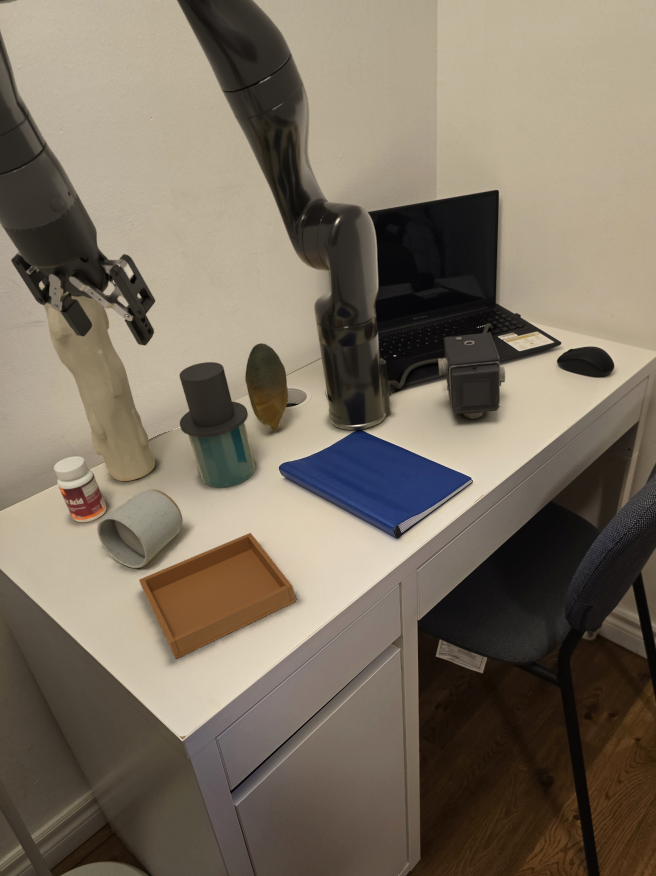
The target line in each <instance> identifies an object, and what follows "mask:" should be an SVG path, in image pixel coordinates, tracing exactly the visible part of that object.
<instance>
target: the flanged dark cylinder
mask: <svg viewBox="0 0 656 876" xmlns="http://www.w3.org/2000/svg"><path fill="white" fill-rule="evenodd" d="M179 380H180V383H181V387H182V391H183V393H184V397H185V400H186V404H187V407H188V411H187V412H186V413H185V414H183V416H181V418H180V419H179V427H180V430H181V431H182V433H184V434H185V435H188V436H189V435H190V436H195V437H210V436H216V435H221V434H224V433H227V432H230V431H232V430H234V429H236V428H238V427H239V426H241V425H242V424H243V423H244V422H245V423H246V421H247V419H248V417H249V413H248V409H247V407H246V406H245V405H243V404H242V403H240V402H236V401H232V396H231V392H230V388H229V384H228V380H227V376H226V372H225V368H224V365H223V364H221V363H218V362H215V361H214V362H213V361H207V362H199V363H196V364H191V365H189V366H187V367H185V368H184V369H183V370H181V371H180V372H179Z"/></svg>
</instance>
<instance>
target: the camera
mask: <svg viewBox="0 0 656 876" xmlns="http://www.w3.org/2000/svg"><path fill="white" fill-rule="evenodd" d="M443 342H444V343H443V344H444V357H445V358H443V357H442V358H443V359H438V363H437V365H438V366H437V367H438V375H439V376H445V380H446V386H447V387H446V388H447V391H448V398H449V403H450V409H452V412H453V414H455V415H456V414H457V415H462V414H463V416H464V417H465V418H468V419H478V418H480V417H482V416H483V415H484V413H487V412H495V411H498V410H499V408H501V406H500V401H501V396H500V395H501V387H502V383H505V382H506V369H505V366H501V364H500V360H501V359H500V356H501V355H500V354H499V351H498V349H497V346H496V343H495V341H494V339H493V335H492V333H491V332H490V331H489V332H488V331H487V333H483V332H482V333H473V334H464V335H455V336H454V335H453V336H445V337H443Z"/></svg>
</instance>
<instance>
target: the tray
mask: <svg viewBox="0 0 656 876" xmlns="http://www.w3.org/2000/svg"><path fill="white" fill-rule="evenodd" d="M138 582H139V584H140V586H141V589H142V591H143V593H144V597H145V599H146V600H147V602H148V604H149V607H150V608H151V611H152V613H153V614H154V617H155V619H156V621H157V623H158V625H159V628H160V630H161V631H162V633H163V635H164V638H165V640H166V642H167V645H168V646H169V648H170V650H171V652H172V654H173V656H174V659H175V660H177V659H179V658H181V657H183V656H185V655H188V654H190V653H191V652H194V651H196V650H198V649H200V648H203V647H205V646H206V645H209V644H211V643H213V642H214V641H215V642H216V641H217V640H219V639H222V638H223V637H225V636H228V635H230V634H233V633H234V632H236V631H238V630H240V629H242V628H245V627H247V626H248V625H250V624H253V623H255V622H257V621H259V620H261V619H264V618H265V617H268V616H269V615H271V614H273V613H275V612H277V611H280V610H283V609H284V608H286V607H288V606H290V605H292V604H294V603H296V602H297V600H296V595H295V591H294V588H293V585H292V583H291V582H290V581H289V580H288V578H287V577H286V576H285V575H284V573H283V572H282V571H281V569H280V568H279V567H278V566H277V564H276V563H275V562H274V561H273V559H272V558H271V557H270V556H269V554H268V553H267V552H266V551H265V549H264V547H262V545H261V544H260V542H259V541H258V540H257V539H256V537H254V535H253V534H252V532H248V533H247V534H244V535H242V536H239V537H237V538H234V539H233V540H230V541H227V542H225V543H222V544H220V545H218V546H216V547H213V548H211V549H208V550H206V551H203V552H201V553H199V554H195V555H194V556H191V557H190V558H187V559H184V560H182V561H180V562H177V563H175V564H172V565H170V566H168V567H166V568H163V569H161V570H159V571H156V572H153V573H151V574H149V575H147V576H144V577H141V578H139V579H138Z"/></svg>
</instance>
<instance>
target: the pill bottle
mask: <svg viewBox="0 0 656 876" xmlns="http://www.w3.org/2000/svg"><path fill="white" fill-rule="evenodd" d="M53 471H54V473H55V476H56V477H57V480H56V484H57V487H58V489H59V491H60V494H61V496H62V498H63V500H64V503H65V505H66V508H67V509H68V512H69V514H70V516H71V519H73V521H75V522H77V523H88V522H93V521H95V520H98V519H99V518H100V517H102V516H103V515H104V514H105V513H106V511H107V504H106V502H105V499H104V497H103V495H102V492H101V489H100V486H99V485H98V482H97V479H96V477H95V473H94V472H93V470H92V469H90V468H88V465H87V463H86V459H84V457H82V456H80V455H79V456H78V455H77V456H76V455H75V456H69V457H65V458H63V459H61V460H59V461H58V462H56V463H55V465H54V466H53Z"/></svg>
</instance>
